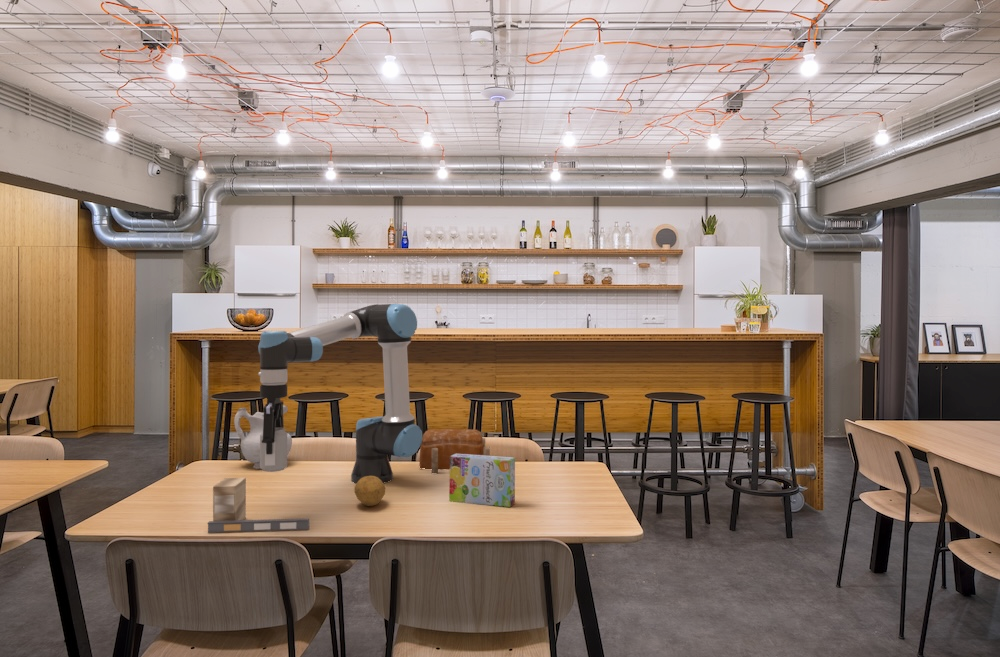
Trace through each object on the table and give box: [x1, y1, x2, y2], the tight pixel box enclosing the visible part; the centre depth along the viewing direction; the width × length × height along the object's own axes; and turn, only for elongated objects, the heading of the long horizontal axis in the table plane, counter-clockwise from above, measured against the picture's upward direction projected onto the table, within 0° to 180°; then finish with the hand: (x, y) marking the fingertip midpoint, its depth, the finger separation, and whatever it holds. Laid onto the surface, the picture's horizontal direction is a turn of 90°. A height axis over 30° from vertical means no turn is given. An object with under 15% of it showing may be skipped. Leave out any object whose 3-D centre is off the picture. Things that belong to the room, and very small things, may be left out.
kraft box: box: [212, 477, 247, 521], centre depth 183 cm, size 6×10×12 cm, turn 6°
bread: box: [419, 428, 484, 469], centre depth 257 cm, size 14×26×16 cm, turn 92°
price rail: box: [207, 517, 310, 534], centre depth 177 cm, size 27×2×3 cm, turn 96°
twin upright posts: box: [431, 437, 491, 474], centre depth 255 cm, size 22×22×10 cm
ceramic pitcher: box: [233, 404, 293, 470], centre depth 255 cm, size 22×20×25 cm
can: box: [260, 427, 288, 473], centre depth 185 cm, size 8×8×12 cm
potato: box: [354, 476, 387, 507], centre depth 202 cm, size 10×13×9 cm
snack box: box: [448, 454, 516, 508], centre depth 206 cm, size 21×6×15 cm, turn 71°
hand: (273, 462), depth 186 cm, fingers closed on can, 7 cm apart
